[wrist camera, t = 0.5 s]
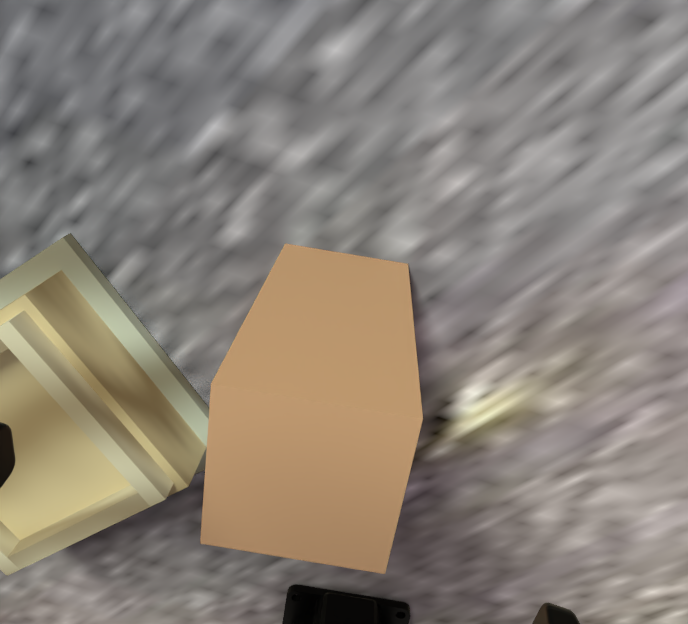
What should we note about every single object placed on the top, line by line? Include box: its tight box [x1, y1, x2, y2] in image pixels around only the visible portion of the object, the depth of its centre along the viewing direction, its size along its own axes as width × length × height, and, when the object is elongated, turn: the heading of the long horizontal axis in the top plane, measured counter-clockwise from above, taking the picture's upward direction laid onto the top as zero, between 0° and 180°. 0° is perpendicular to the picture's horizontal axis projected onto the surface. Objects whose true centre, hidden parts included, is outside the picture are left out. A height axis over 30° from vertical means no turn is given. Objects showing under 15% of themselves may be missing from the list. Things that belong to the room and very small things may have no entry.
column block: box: [200, 244, 423, 574], centre depth 20 cm, size 5×5×11 cm
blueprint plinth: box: [0, 234, 209, 576], centre depth 26 cm, size 12×12×4 cm
